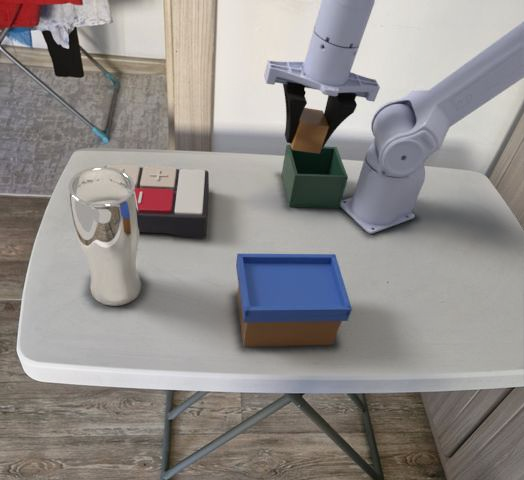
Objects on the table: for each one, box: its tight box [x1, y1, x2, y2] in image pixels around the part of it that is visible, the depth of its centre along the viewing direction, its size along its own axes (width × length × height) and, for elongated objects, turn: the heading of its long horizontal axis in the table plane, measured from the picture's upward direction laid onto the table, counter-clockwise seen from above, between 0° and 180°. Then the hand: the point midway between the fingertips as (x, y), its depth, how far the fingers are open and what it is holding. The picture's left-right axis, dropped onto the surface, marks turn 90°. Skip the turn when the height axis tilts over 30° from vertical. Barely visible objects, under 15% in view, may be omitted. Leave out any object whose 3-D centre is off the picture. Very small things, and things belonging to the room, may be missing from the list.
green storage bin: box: [280, 144, 349, 209], centre depth 81 cm, size 8×8×6 cm
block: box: [289, 107, 329, 154], centre depth 71 cm, size 4×4×4 cm
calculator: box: [104, 163, 210, 239], centre depth 74 cm, size 11×4×15 cm
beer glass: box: [68, 166, 142, 307], centre depth 60 cm, size 7×7×15 cm
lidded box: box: [235, 253, 353, 348], centre depth 63 cm, size 12×9×7 cm
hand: (303, 141), depth 72 cm, fingers closed on block, 4 cm apart
